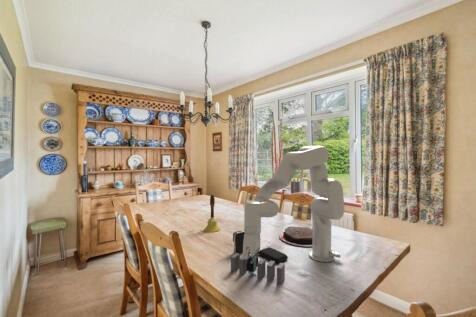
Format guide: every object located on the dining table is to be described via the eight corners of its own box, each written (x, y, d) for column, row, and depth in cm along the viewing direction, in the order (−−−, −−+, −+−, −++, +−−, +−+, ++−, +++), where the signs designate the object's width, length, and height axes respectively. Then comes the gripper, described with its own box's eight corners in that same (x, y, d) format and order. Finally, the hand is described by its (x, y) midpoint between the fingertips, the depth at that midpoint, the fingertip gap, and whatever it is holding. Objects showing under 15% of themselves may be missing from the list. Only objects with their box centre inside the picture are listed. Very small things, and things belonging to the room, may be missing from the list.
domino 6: (284, 279, 101) (284, 263, 101) (281, 285, 97) (281, 268, 97) (280, 278, 102) (280, 262, 102) (276, 284, 98) (276, 267, 98)
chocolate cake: (328, 250, 133) (328, 238, 133) (278, 246, 139) (278, 235, 139) (320, 233, 161) (320, 224, 161) (279, 230, 166) (279, 221, 166)
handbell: (201, 231, 163) (200, 196, 162) (207, 226, 175) (207, 193, 174) (217, 233, 160) (217, 197, 160) (223, 227, 172) (223, 194, 172)
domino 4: (265, 274, 105) (265, 259, 105) (261, 280, 101) (261, 264, 101) (261, 273, 106) (261, 258, 106) (257, 278, 102) (257, 263, 102)
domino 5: (274, 277, 103) (274, 261, 103) (271, 282, 99) (271, 266, 99) (270, 275, 104) (270, 260, 104) (266, 281, 100) (266, 265, 100)
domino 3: (248, 273, 104) (248, 257, 104) (252, 268, 108) (252, 253, 108) (252, 274, 103) (252, 258, 103) (256, 269, 107) (256, 254, 107)
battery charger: (242, 249, 133) (242, 229, 133) (246, 251, 130) (246, 231, 130) (231, 251, 130) (231, 231, 129) (235, 254, 126) (235, 233, 126)
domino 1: (239, 268, 111) (239, 253, 111) (234, 272, 107) (234, 257, 107) (235, 267, 112) (235, 252, 112) (230, 271, 108) (230, 257, 108)
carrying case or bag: (290, 259, 121) (270, 250, 133) (290, 254, 121) (270, 245, 132) (276, 265, 114) (256, 255, 126) (276, 259, 114) (256, 249, 126)
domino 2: (247, 270, 109) (247, 255, 109) (243, 275, 105) (243, 259, 105) (244, 269, 110) (244, 254, 110) (239, 274, 106) (239, 258, 106)
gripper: (252, 222, 114) (252, 259, 115) (236, 233, 99) (236, 275, 100) (266, 224, 111) (266, 262, 111) (252, 235, 96) (252, 279, 96)
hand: (252, 268), depth 105 cm, fingers closed on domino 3, 4 cm apart
